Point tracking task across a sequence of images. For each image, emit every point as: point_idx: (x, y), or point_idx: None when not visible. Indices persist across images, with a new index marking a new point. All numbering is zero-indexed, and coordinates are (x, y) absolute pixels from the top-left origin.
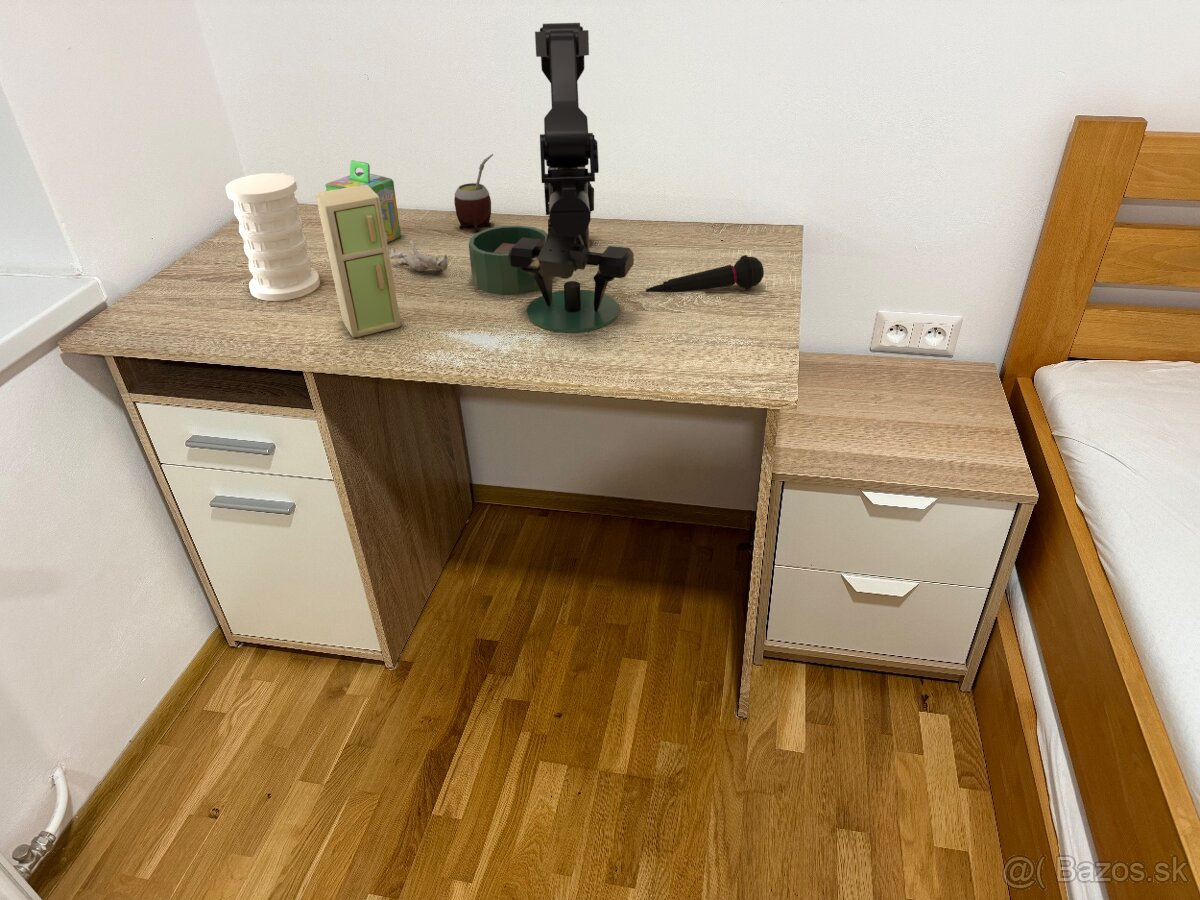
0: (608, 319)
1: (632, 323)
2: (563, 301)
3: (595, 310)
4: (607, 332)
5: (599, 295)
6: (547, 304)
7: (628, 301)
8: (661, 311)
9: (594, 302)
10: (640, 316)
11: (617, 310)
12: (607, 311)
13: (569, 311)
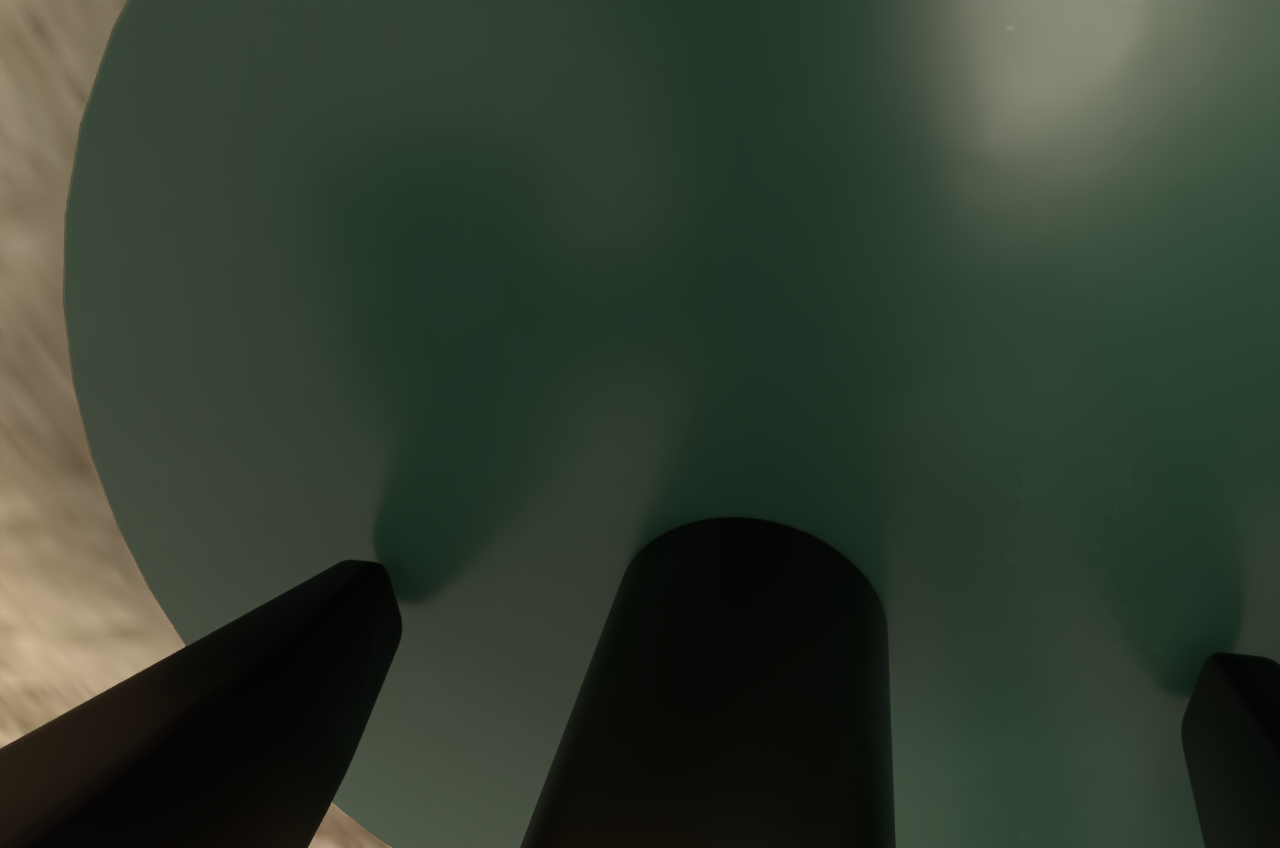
0: (109, 389)
1: (25, 458)
2: (975, 802)
3: (352, 567)
4: (75, 150)
5: (1, 765)
6: (1277, 674)
7: (345, 835)
8: (10, 697)
9: (250, 656)
10: (75, 604)
11: (188, 630)
12: (264, 595)
13: (763, 522)
